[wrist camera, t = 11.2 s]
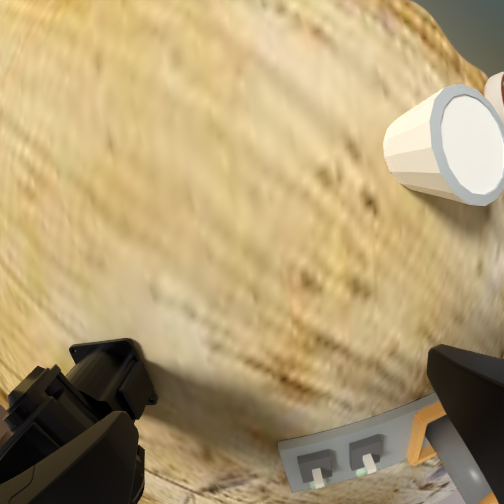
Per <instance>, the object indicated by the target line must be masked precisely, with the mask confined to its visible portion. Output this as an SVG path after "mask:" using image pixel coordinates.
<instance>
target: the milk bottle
mask: <svg viewBox="0 0 504 504" xmlns="http://www.w3.org/2000/svg"><path fill="white" fill-rule="evenodd" d="M484 97H485V98H486V99H487V100H488V101H489V102H491V104H492V105H493V107H494V109H495V110H496V112H497V113H498V115H499V117H500V118H501V120H502V122H503V125H504V72H501V73H499V74H496V75H494V76H492V77H490V78H489V79H488V81H487V82H486V85H485V87H484Z"/></svg>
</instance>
